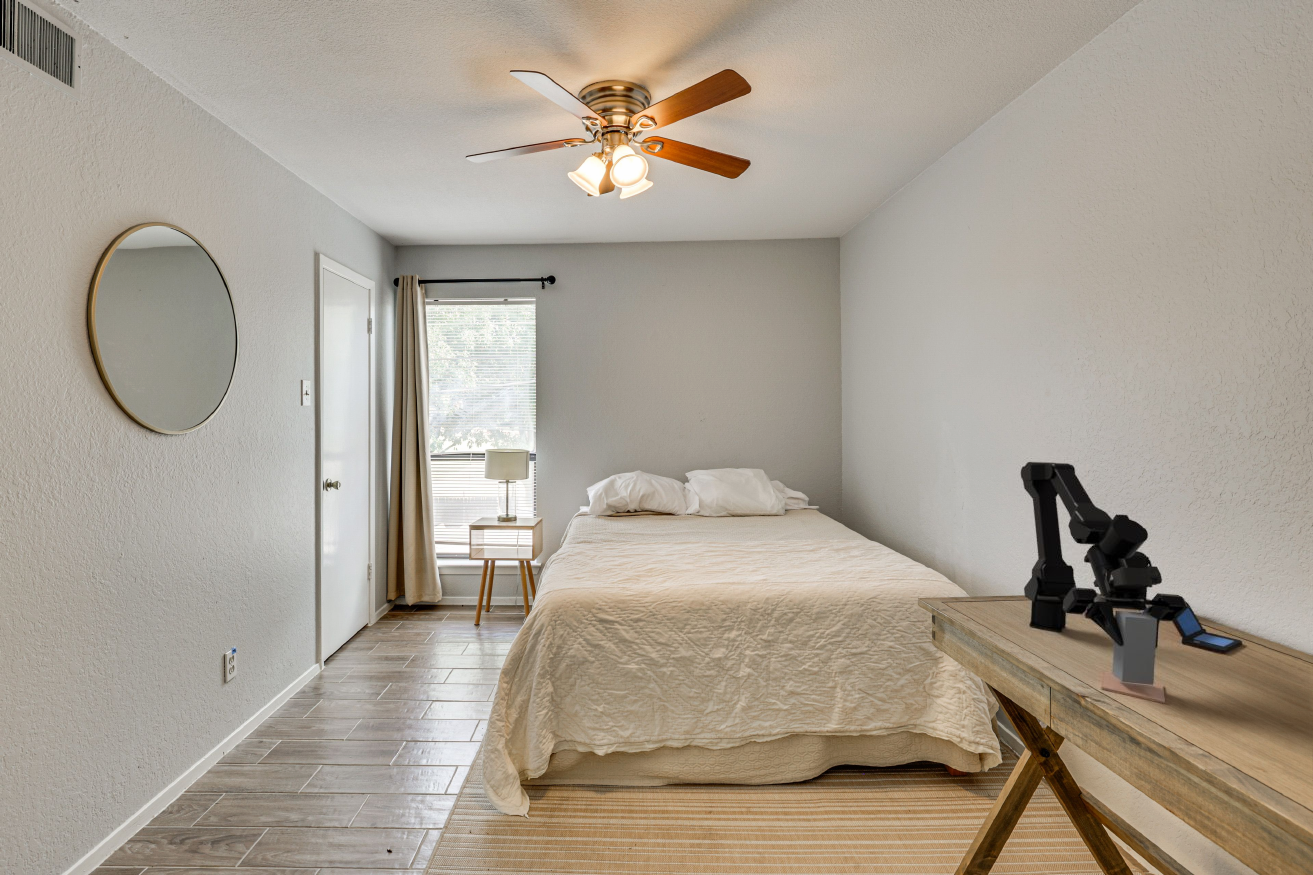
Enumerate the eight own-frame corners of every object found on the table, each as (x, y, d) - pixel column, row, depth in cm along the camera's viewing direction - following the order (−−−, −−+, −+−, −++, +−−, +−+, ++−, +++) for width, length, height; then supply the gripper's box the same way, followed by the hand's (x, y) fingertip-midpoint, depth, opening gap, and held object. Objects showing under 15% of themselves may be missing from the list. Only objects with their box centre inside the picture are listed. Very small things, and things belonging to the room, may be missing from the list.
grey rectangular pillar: (1112, 673, 117) (1115, 610, 117) (1142, 676, 116) (1146, 613, 116) (1121, 681, 114) (1125, 616, 113) (1153, 684, 113) (1157, 619, 112)
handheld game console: (1224, 656, 132) (1226, 621, 132) (1162, 640, 141) (1164, 607, 141) (1244, 645, 139) (1246, 612, 139) (1183, 630, 148) (1185, 599, 148)
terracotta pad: (1101, 688, 114) (1101, 686, 114) (1102, 673, 121) (1102, 671, 121) (1164, 703, 108) (1164, 701, 108) (1162, 686, 116) (1162, 684, 116)
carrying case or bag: (1148, 606, 166) (1151, 551, 166) (1152, 609, 164) (1154, 554, 163) (1100, 600, 171) (1103, 547, 171) (1102, 603, 168) (1105, 549, 168)
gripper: (1072, 545, 120) (1097, 621, 109) (1184, 552, 116) (1221, 631, 105) (1053, 576, 128) (1075, 648, 117) (1157, 583, 124) (1189, 659, 113)
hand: (1138, 646), depth 113 cm, fingers closed on grey rectangular pillar, 5 cm apart
